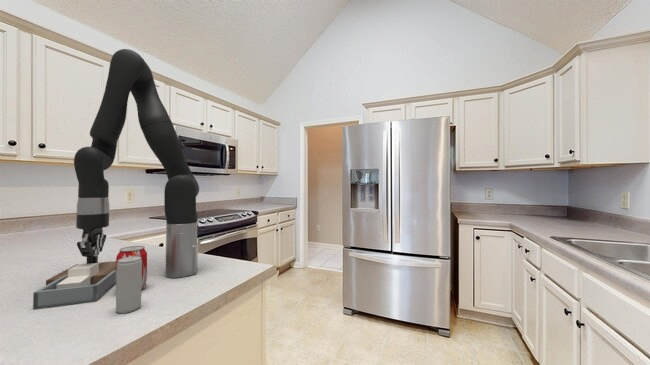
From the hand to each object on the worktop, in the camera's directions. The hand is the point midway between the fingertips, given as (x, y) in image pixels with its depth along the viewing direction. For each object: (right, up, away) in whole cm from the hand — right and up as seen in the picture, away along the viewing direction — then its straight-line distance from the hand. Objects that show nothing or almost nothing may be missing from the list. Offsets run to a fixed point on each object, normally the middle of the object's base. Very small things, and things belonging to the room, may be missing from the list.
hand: (92, 268), depth 79 cm
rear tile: (+1, -1, -4) cm, 4 cm away
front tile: (+3, -3, -9) cm, 10 cm away
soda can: (+17, -4, -7) cm, 19 cm away
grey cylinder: (+25, -4, -18) cm, 31 cm away
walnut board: (-2, -4, +3) cm, 5 cm away
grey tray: (+6, -4, -10) cm, 12 cm away
